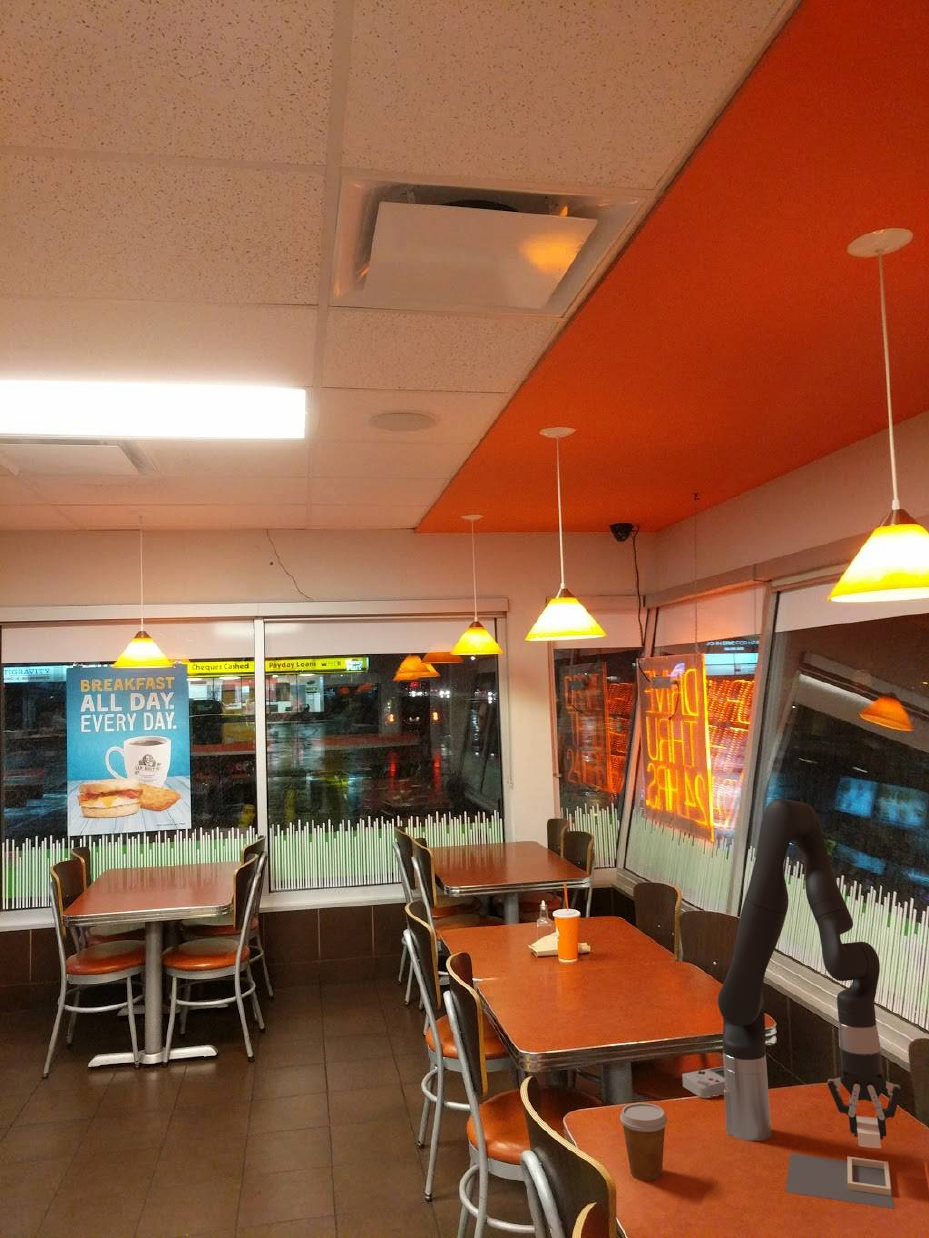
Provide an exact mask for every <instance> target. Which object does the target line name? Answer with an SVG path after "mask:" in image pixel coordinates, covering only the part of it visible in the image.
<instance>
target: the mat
mask: <svg viewBox="0 0 929 1238" xmlns="http://www.w3.org/2000/svg"><path fill="white" fill-rule="evenodd" d="M846 1157H847V1160H843V1159H835V1158H829V1157H821V1156H814V1155H813V1156H812V1155H807V1154H800V1153H799V1154H798V1153H792V1152H790V1153H789V1160H788V1161H789V1162H788V1169H787V1177H786V1186H785V1187H786V1188H785V1193H788V1194H789V1193H790V1194H796V1195H801V1196H808V1197H809V1196H810V1197H815V1198H822V1199H829V1200H834V1201H840V1202H841V1201H842V1202H847V1203H854V1204H861V1205H866V1206H867V1205H868V1206H875V1207H881V1208H887V1209H893V1210H894V1209H895V1205H894V1197H893V1196H894V1195H893V1187H892V1179H891V1169H890V1167H891V1166H889V1161H883V1160H877V1159H868V1158H863V1157H861V1158H860V1157H856V1156H848V1155H847V1156H846Z"/></svg>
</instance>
